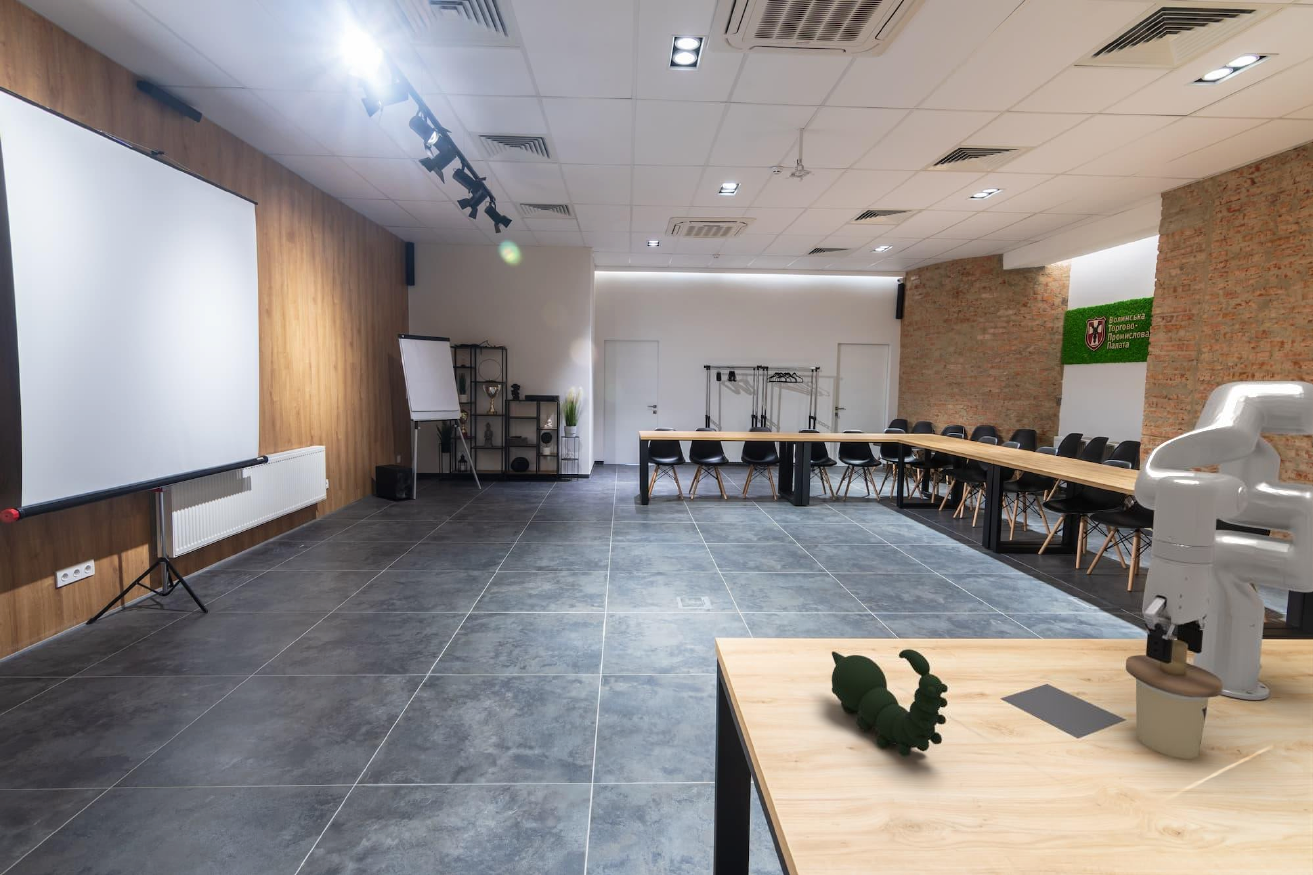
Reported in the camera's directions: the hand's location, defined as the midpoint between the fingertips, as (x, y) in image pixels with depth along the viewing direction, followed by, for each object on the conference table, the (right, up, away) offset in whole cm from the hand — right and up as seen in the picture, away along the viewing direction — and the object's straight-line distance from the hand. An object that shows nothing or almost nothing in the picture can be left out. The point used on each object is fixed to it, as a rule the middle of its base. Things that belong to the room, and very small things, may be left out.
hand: (1173, 654), depth 96 cm
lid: (0, -4, 0) cm, 4 cm away
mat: (-10, -15, +12) cm, 22 cm away
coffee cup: (0, -16, +1) cm, 16 cm away
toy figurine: (-47, -16, +6) cm, 50 cm away
